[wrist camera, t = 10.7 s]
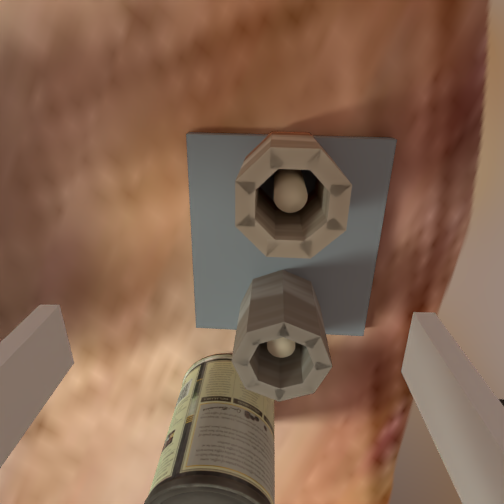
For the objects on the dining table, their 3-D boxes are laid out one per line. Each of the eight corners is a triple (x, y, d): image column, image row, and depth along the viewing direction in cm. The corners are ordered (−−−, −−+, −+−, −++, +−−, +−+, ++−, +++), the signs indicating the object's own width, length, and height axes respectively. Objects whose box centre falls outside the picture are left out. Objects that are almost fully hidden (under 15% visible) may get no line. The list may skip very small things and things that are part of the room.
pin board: (198, 320, 37) (181, 370, 31) (189, 132, 30) (165, 145, 23) (360, 328, 36) (379, 381, 30) (392, 137, 29) (426, 152, 23)
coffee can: (272, 428, 43) (270, 576, 30) (183, 420, 43) (143, 562, 30) (280, 357, 38) (282, 493, 26) (181, 348, 39) (134, 478, 26)
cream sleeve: (244, 215, 31) (235, 255, 24) (245, 130, 28) (235, 146, 21) (326, 218, 31) (342, 259, 24) (335, 133, 28) (356, 149, 21)
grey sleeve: (259, 342, 36) (255, 407, 29) (232, 285, 34) (220, 340, 27) (326, 324, 35) (339, 386, 28) (303, 262, 33) (311, 313, 25)
